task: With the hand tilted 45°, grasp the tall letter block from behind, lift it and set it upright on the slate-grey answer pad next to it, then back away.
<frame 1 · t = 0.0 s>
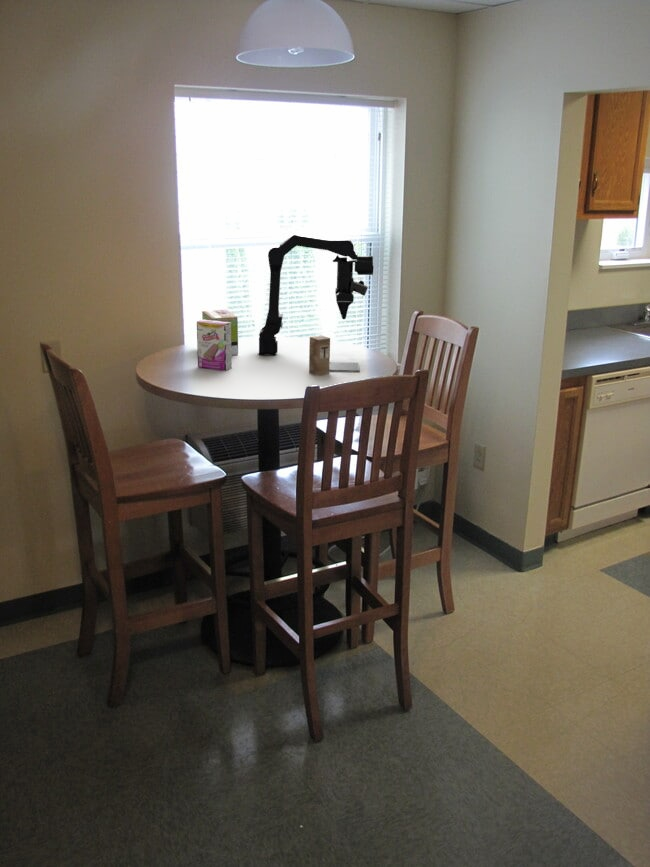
hand: (343, 316, 284), 15 cm above the table, tool pointing down, fingers open, 9 cm apart
tea box: (220, 352, 290), on the table
candy bar box: (214, 368, 267), on the table
letter block: (319, 373, 263), on the table
answer pad: (342, 367, 271), on the table
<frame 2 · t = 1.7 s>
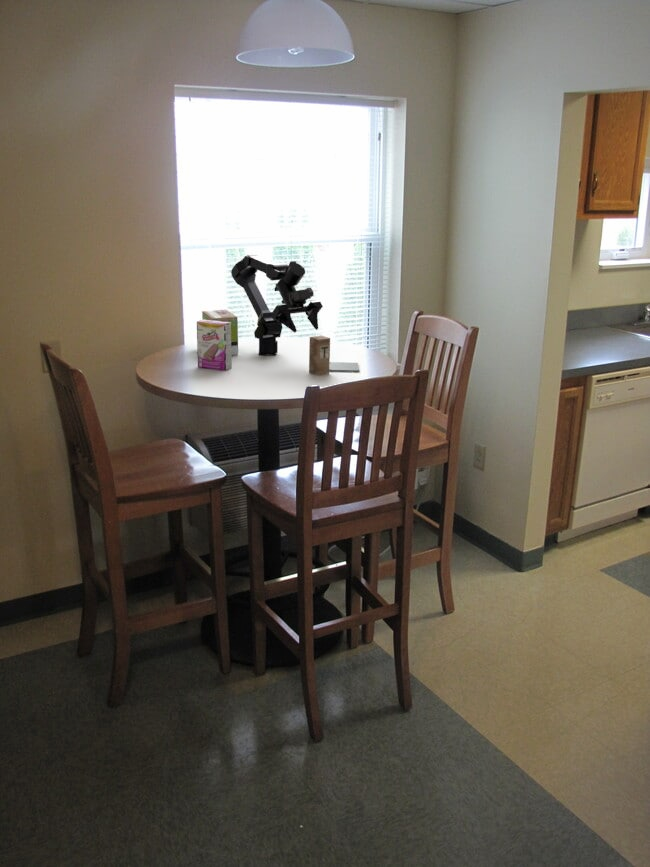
hand: (306, 330, 265), 13 cm above the table, tool tilted 45°, fingers open, 9 cm apart
nothing on the table moved.
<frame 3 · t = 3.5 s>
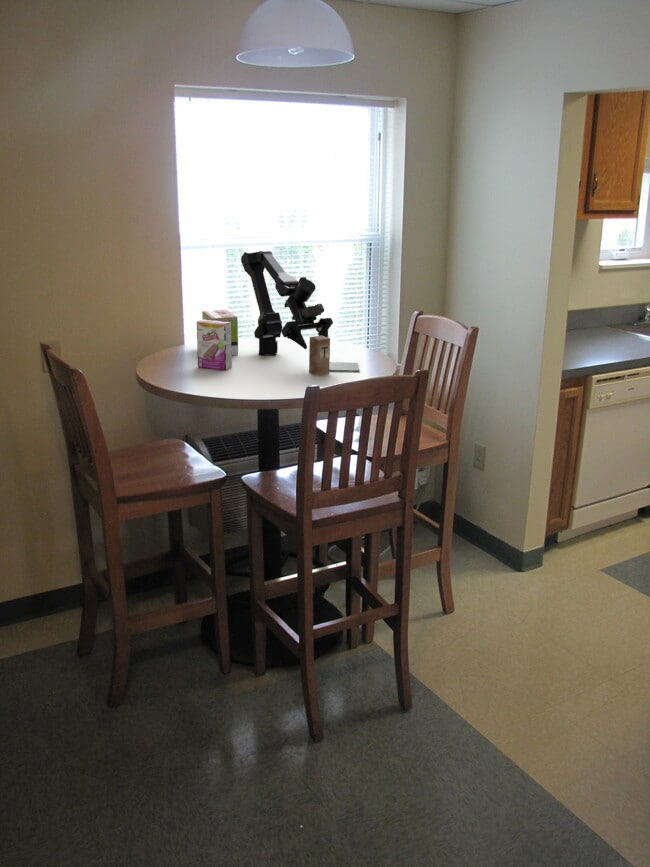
hand: (317, 347, 261), 9 cm above the table, tool tilted 45°, fingers open, 9 cm apart
nothing on the table moved.
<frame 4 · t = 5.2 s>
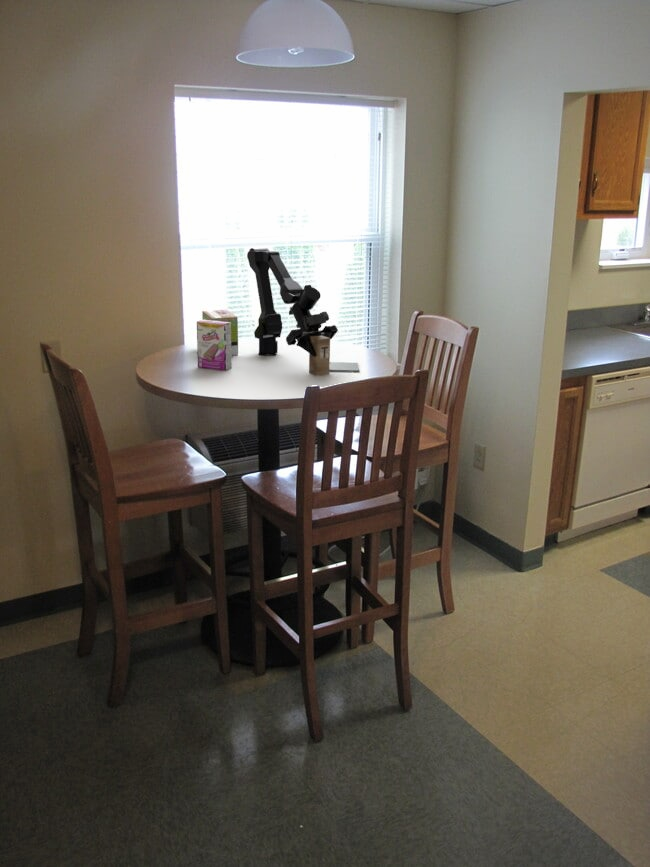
hand: (321, 355, 260), 7 cm above the table, tool tilted 45°, fingers closed on letter block, 5 cm apart
letter block: (319, 373, 263), on the table, touching gripper
everything else where it was.
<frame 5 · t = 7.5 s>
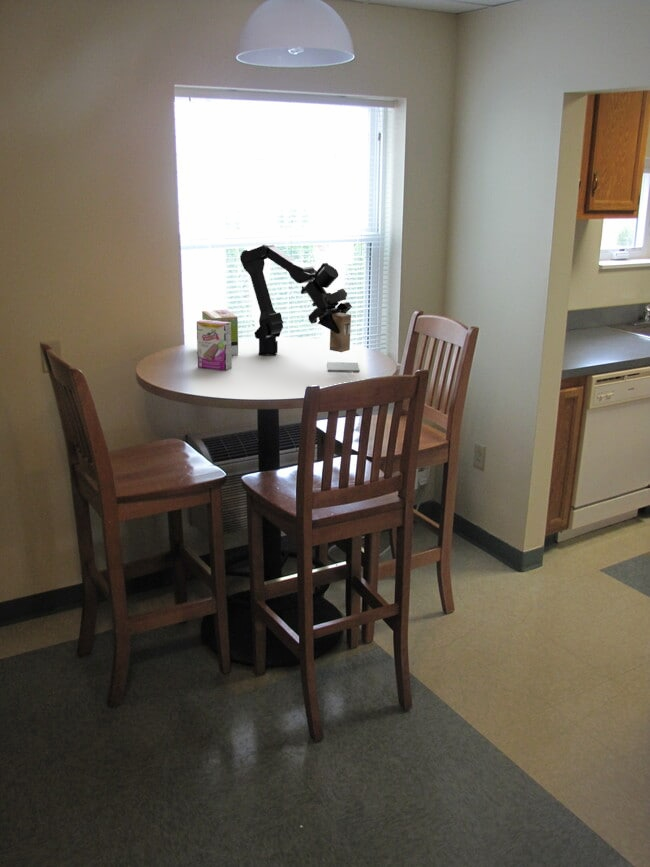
hand: (343, 331, 264), 13 cm above the table, tool tilted 45°, fingers closed on letter block, 5 cm apart
letter block: (339, 349, 267), point 7 cm above the table, touching gripper
everything else where it was.
when the fingers open (8 cm above the table, at t = 9.7 s): letter block drops 1 cm, resting on answer pad.
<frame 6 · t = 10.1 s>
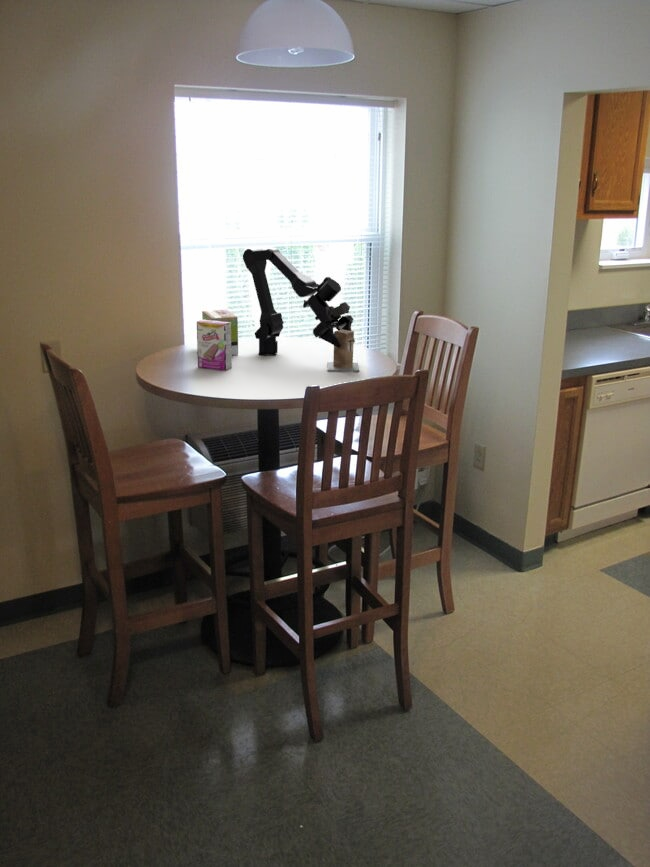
hand: (347, 344, 267), 9 cm above the table, tool tilted 45°, fingers open, 9 cm apart
letter block: (343, 366, 271), point 1 cm above the table, touching answer pad
everything else where it was.
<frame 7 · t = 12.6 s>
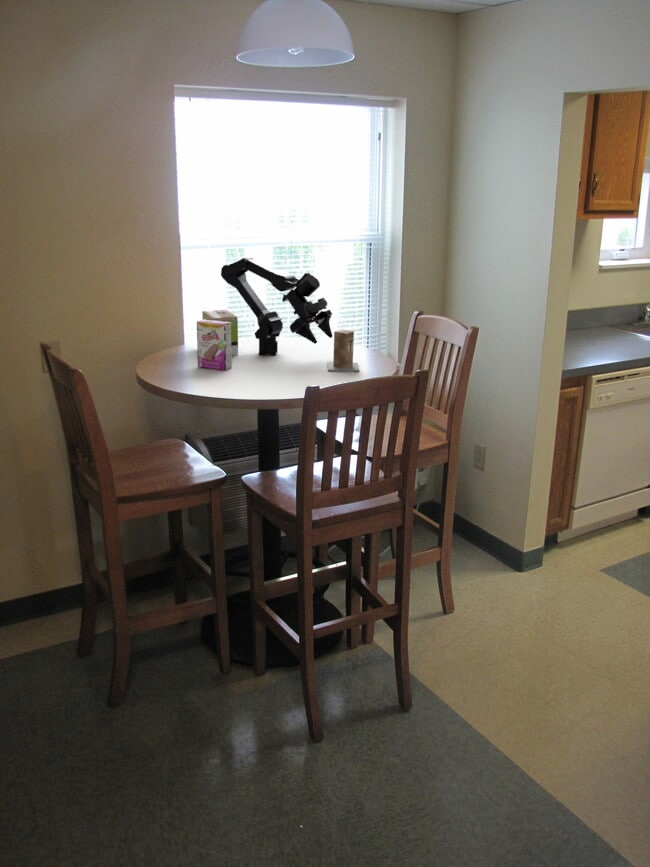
hand: (323, 340, 273), 9 cm above the table, tool tilted 40°, fingers open, 9 cm apart
nothing on the table moved.
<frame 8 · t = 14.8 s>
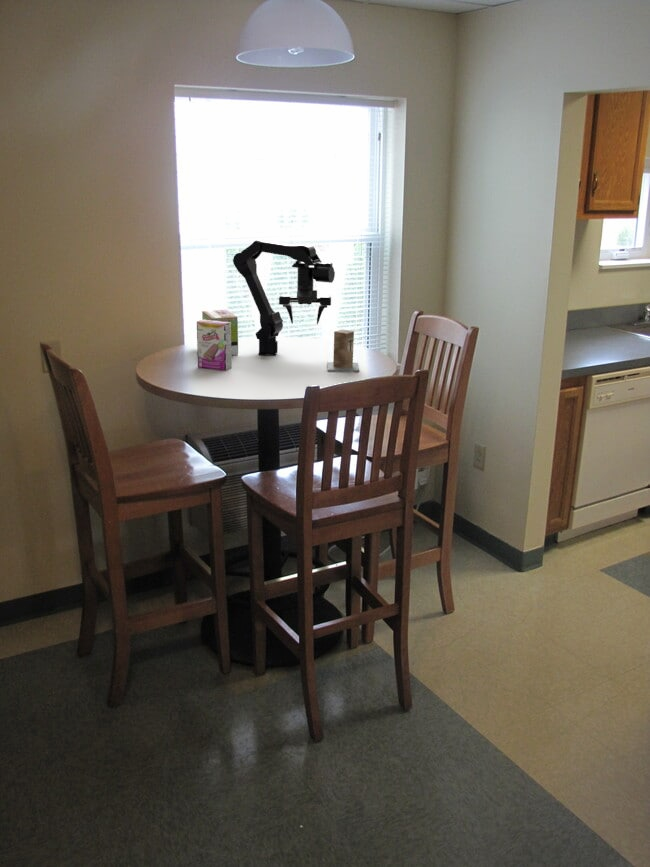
hand: (304, 323, 279), 13 cm above the table, tool pointing down, fingers open, 9 cm apart
nothing on the table moved.
at the end: letter block inside the target area on the answer pad (0.0 cm from its centre), point 0.6 cm above the answer pad's base; letter block tilted 0°; the gripper is holding nothing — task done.
